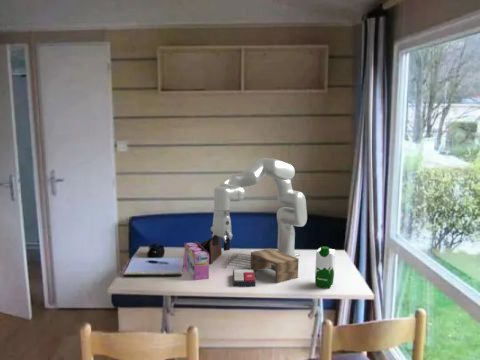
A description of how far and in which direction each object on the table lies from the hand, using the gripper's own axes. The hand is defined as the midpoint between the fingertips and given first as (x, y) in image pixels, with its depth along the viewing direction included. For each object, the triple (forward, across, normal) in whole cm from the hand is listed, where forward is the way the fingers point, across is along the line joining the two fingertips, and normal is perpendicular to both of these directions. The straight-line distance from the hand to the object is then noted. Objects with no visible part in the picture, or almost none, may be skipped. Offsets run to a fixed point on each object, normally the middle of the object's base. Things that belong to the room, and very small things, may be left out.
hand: (220, 247), depth 223 cm
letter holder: (+20, +40, -19) cm, 49 cm away
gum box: (+20, +24, -1) cm, 32 cm away
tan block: (+19, 0, -34) cm, 39 cm away
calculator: (+20, 0, -15) cm, 25 cm away
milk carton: (+19, -26, -45) cm, 55 cm away
